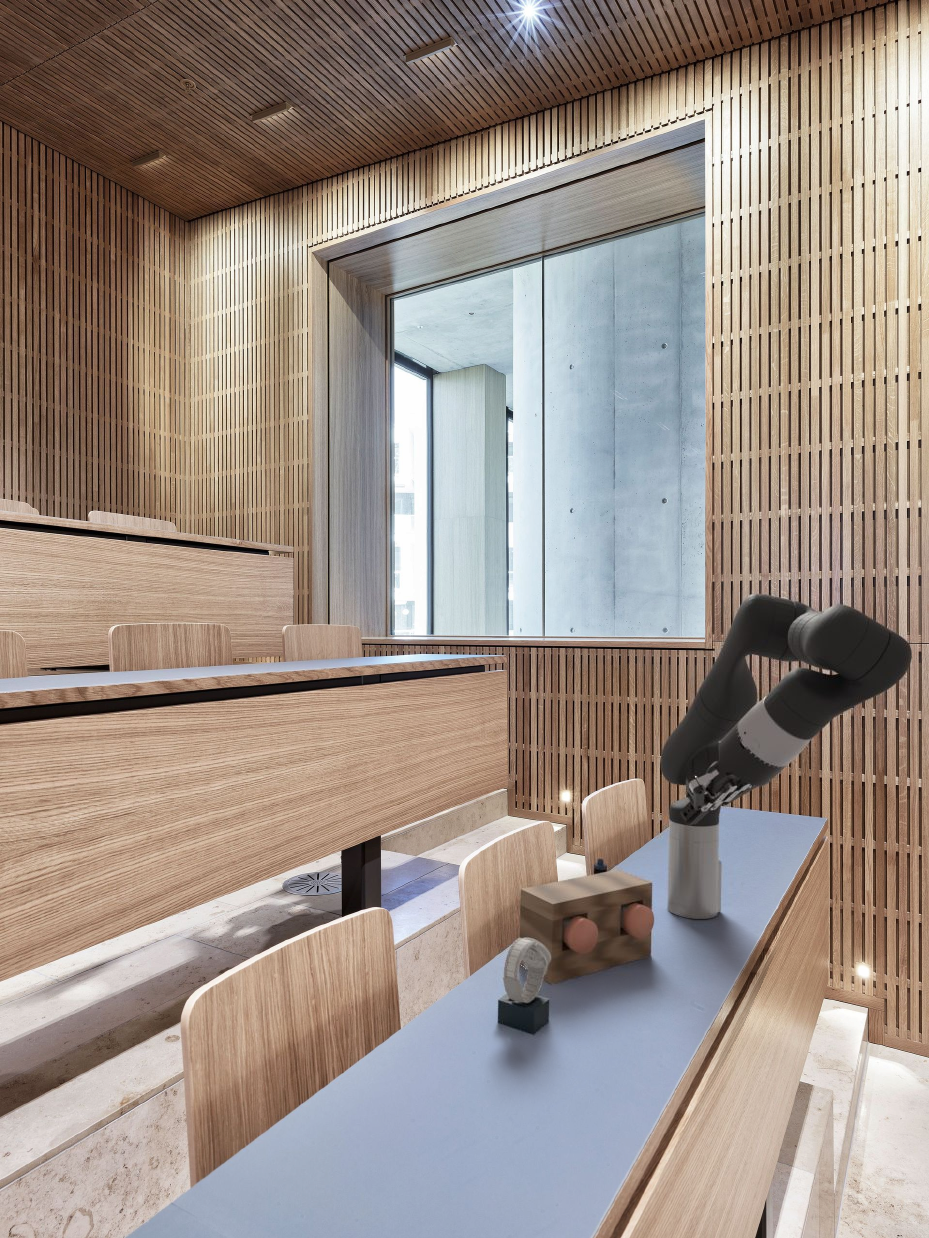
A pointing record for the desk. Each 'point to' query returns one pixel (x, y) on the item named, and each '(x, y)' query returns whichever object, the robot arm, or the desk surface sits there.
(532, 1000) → the watch
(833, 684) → the robot arm
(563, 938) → the knob
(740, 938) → the desk surface
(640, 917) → the knob
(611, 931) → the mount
